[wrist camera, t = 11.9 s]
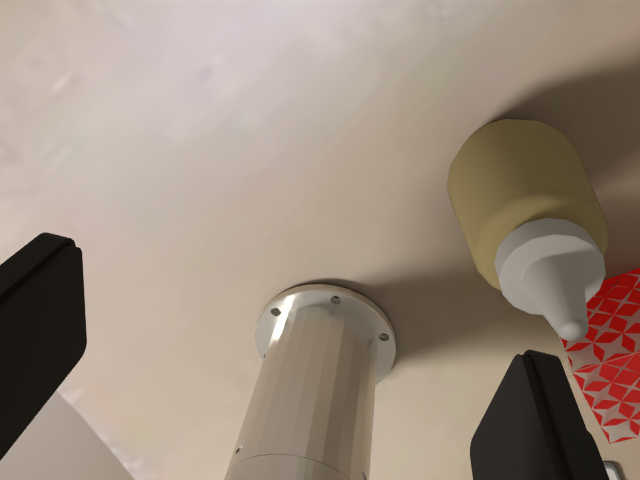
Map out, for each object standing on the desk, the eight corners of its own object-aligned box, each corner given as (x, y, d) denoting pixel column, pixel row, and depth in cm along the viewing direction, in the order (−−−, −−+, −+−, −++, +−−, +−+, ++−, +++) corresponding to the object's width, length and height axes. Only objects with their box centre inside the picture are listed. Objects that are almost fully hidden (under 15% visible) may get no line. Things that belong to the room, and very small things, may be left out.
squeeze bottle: (587, 118, 34) (735, 277, 19) (534, 222, 38) (618, 419, 23) (467, 87, 34) (517, 219, 19) (428, 194, 38) (441, 372, 23)
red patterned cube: (545, 300, 42) (571, 372, 35) (651, 262, 39) (702, 333, 32) (579, 366, 45) (610, 444, 38) (680, 336, 42) (732, 416, 35)
